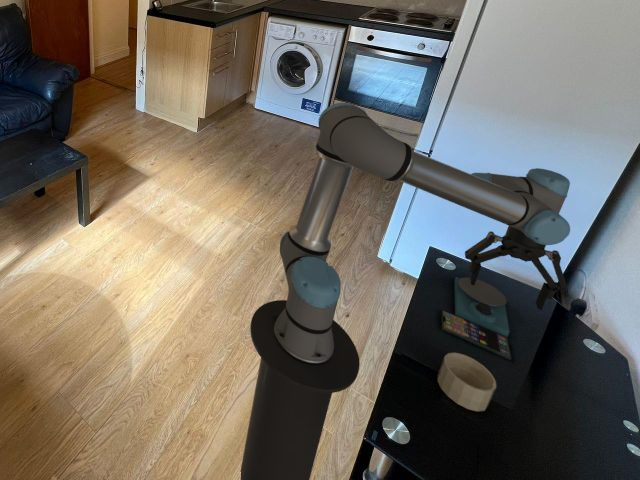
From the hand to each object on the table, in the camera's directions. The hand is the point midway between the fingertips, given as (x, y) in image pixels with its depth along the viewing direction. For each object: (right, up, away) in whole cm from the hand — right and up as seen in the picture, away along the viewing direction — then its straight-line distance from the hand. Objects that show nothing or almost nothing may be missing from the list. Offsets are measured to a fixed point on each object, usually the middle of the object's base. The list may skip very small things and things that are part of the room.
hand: (504, 293), depth 110 cm
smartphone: (-3, -15, +6) cm, 16 cm away
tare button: (+3, -10, +10) cm, 15 cm away
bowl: (-20, -19, -10) cm, 30 cm away
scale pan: (+9, -8, +17) cm, 21 cm away
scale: (+7, -12, +16) cm, 21 cm away
